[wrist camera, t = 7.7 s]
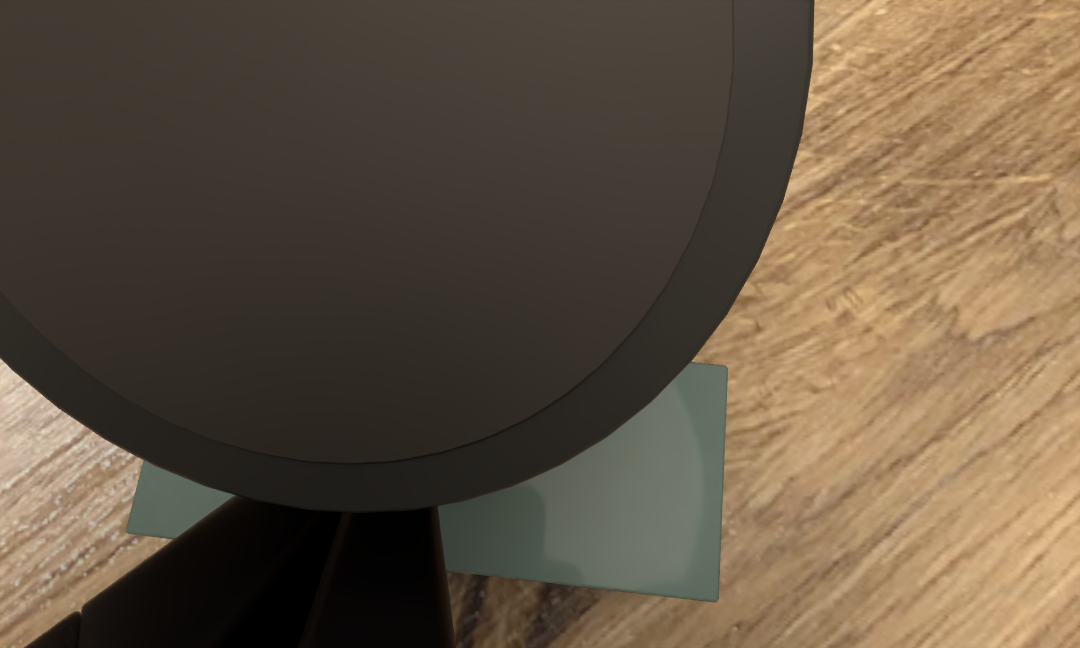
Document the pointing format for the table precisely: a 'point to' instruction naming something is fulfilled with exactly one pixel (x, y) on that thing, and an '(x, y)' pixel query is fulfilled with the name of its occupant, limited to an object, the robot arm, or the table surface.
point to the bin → (382, 226)
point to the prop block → (567, 505)
